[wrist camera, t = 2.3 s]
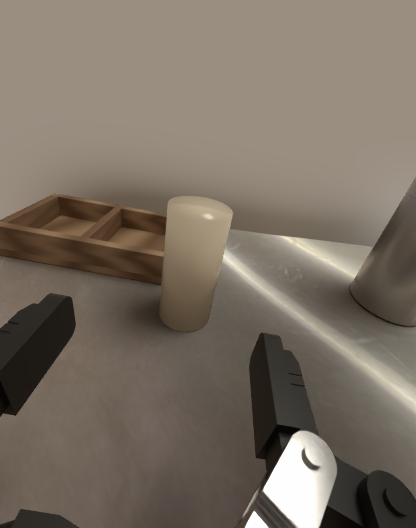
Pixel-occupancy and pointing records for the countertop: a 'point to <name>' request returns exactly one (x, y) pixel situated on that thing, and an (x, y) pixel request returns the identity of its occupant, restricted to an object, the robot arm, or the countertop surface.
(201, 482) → the countertop surface
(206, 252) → the cream pillar candle
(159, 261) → the wooden divided tray
